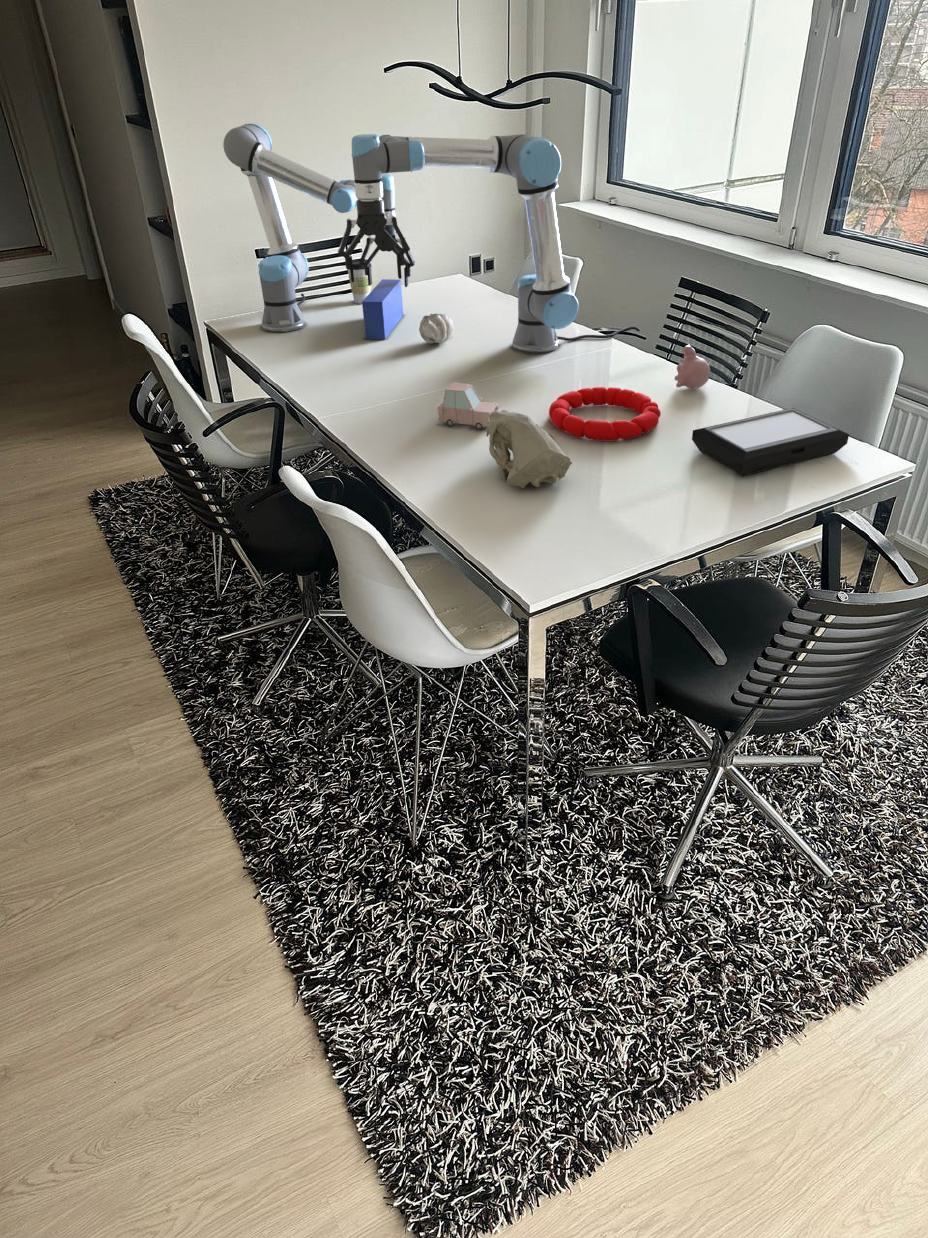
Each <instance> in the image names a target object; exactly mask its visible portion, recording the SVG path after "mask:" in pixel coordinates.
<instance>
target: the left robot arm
mask: <svg viewBox="0 0 928 1238" xmlns="http://www.w3.org/2000/svg"><path fill="white" fill-rule="evenodd" d="M222 143H223V144H222V147H223V151H224V154H225V156H226V158H227V159H228V161H230V163H232V165H234V166H236V167H238V168H240V171H241V173H242V174H244V175H245V176H246V177H247V179H248V182H249V185H250V188H251V192H252V195H253V198H254V202H255V204H256V207H257V211H258V213H259V218H260V221H261V223H262V226H263V230H264V233H265V236H266V239H267V242H268V245H269V249H268V251H267V256H268V257H265V258H263V259H261V260H260V261H259V262H258V275H259V281H260V287H261V292H262V293H261V294H262V299H263V313H262V319H261V326H262V330H264V331H265V332H271V333H286V332H293V331H296V330H297V331H298V330H300V329H302V328H304V326H305V319H304V317H303V314H302V312H301V310H300V307H299V306H300V305H302V304H303V303H304V302H305V300H306V297H305V294H304V293H301V294H300V297H302V300H300V301H299V302H297V295H296V294H297V293H296V288H297V287H298V286H300V285H302V284H303V283H304V282H305V280H306V278H307V277H308V274H309V270H310V268H309V261H308V259H307V258H306V256H305V255H304V254H303V253H302V252H301V250H300V246H299V244H298V243H296V242H295V241H294V240H293V237H292V234H291V230H290V227H289V224H288V221H287V218H286V214H285V211H284V208H283V205H282V201H281V197H280V195H279V191H278V188H277V185H276V184H277V183H276V182H275V181H278V182H280V183H282V184H284V185H286V186H288V187H291V188H292V189H295V190H297V191H299V192H302V193H303V194H306V195H308V196H310V197H313V198H315V199H316V200H319V201H322V202H324V203H326V204H328V205H330V206H331V207H332V208H333V209H334V210H335V211H336V212H338V213H340V214H346V213H350V212H351V211H353V210H354V209H355V208H357V204H356V201H357V200H358V199H357V198H356V193H355V179H343V180H340V181H339V182H338V181H336V180H335V179H332V178H330V177H328V176H326V175H325V174H322V173H320V172H318V171H315V170H313V169H310V168H309V167H306V166H304V165H302V164H300V163H297V162H295V161H293V160H291V159H289V158H287V157H285V156H282V155H281V154H278V153H276V152H274V151H272V150H273V141H272V137H271V135H270V133H269V132H268V131H267V130H266V129H265V128H264V127H263V126H261V125H260V124H257V123H245V124H242V125H239V126H236V127H233V128H231V129H229V130H228V132H227V133H226V134H225V136H224V138H223V142H222ZM382 186H383V197H382V198H381V199H383V200H384V212H385V217H386V218H389V217H391V216H395V217H397V216H396V195H395V192H396V191H395V190H396V189H395V180H394V176H393V175H392V174H391V173H383V174H382ZM384 229H385V230H386V231H387V232H388V233H389V235H390V236H391V237H392V238H393V239H394V240H395V241H396V242H397V243H398V244H399V246H401V248H402V247H404V246H403V244H402V242H401V240H400V238H398V235H397V233H396V231H395V229H394V227H393V226H391V225H390V224H389V223H388V222H387V224H386V225H385V227H384ZM405 240H406V238H405ZM406 241H407V240H406ZM373 243H374V244H375V245H376V247H375V249H374V250H373V251H372V253H371V254H370V255H369V257H368V258H367V255H368V253H369V251H370V248H371V245H372V244H373ZM380 251H381V252H390V253H391V252H393V253H394V254H395V255H396V253H399V252H398V251H397V249H396V248H395V247H394V246H393V245H392V244H391V243H390V242H389V241H388V240H387V238H386V237H385V236H384V235H383V234H382V233H381V234H379V235H374V237H371V236H367V237H366V243H365V247H364V248H363V251H362V254H361V257H360V258H359V259H360V261H359V264H360V265H364V267H365V275H366V276H368V286H371V287H372V285H373V277H372V276H373V275H372V267H371V265H372V264H371V265H369V263H371V262H372V261H373V259H374V258H375V257H376V255H377V254H378V253H379V252H380ZM404 255H405V256H406V257H405V256H404V266H405V267H404V268H403V275H404V288H408V286H409V278H410V277H411V276H412V274H411V271H412V270H411V267H414V266H415V265H416V260H415V259H414V257H413V255H412V253H411V251H407V252H405V253H404ZM366 258H367V261H364V260H365V259H366Z"/></svg>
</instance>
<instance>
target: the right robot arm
mask: <svg viewBox="0 0 928 1238" xmlns="http://www.w3.org/2000/svg"><path fill="white" fill-rule="evenodd" d="M351 158H352V159H351V160H352V168H353V169H352V170H353V177H354V178H353V180H355V193H356V198H357V199H358V200H357V201H356V204H357V206H356V213H357V214H356V215H357V217H356V219H351V218H350V217H349V218H346V228H345V231H344V233H343V236H342V239H341V241H340V244H339V247H338V249H337V254H338V256H339V257H343V258H344V261H345V269H346V270H347V271H348V270H350V275H351V282H354V273H353V263H352V260H353V257H352V253H353V252H354V250H355V249H356V247H357V246H358V245H359V243H360V241H362V239H363V237H364V236H366V237H369V236H370V237H371V236H375V235H379V234H381V233H382V234H383V235H384V236H385V237H386V238H387V240H388V241H389V242H390V243H391V244H392V245H393V246H394V247H395V248H396V249H397V251H398V252H399V253H396V254H395V255H396V266H397V267H396V268H397V278H398V280H402V278H403V276H402V267H403V266H405V265H404V257H405V252H407V251H410V250H411V248H410V246H409V244H408V242H407V240H405V239H406V237H404V234H403V233H402V231H401V228H400V227H399V225H398V222H397V221H398V220H397V218H396V217H397V216H396V217H395V216H391V217H389V218H386V217H385V212H384V200H383V199H381V198H382V197H383V186H382V174H391V173H393V174H394V173H407V172H410V173H412V172H415V171H421V170H422V169H423V168H448V169H449V168H455V169H456V168H459V169H486V170H487V171H488V173H493V174H494V173H497V174H503V175H506V176H510V177H512V178H515V180H516V187H517V193H518V195H519V196H520V197H523V199H524V205H525V211H526V212H525V213H526V219H527V223H528V232H529V239H530V246H531V251H532V252H531V253H532V259H533V265H534V266H533V267H534V272H535V273H534V274H526V275H522V276H521V277H519V279H518V283H517V285H518V286H517V300H518V301H517V326H516V329H515V332H514V335H513V338H512V348H513V349H514V350H515V351H517V352H520V353H525V354H546V353H550V352H553V351H555V350H557V349H558V347H559V340H561V341H566V342H574V341H578V340H581V339H611V338H614V337H615V336H616V335H619V334H622V333H625V332H627V331H631V330H635V331H636V332H641V329H640V328H639V327H637V326H628V327H625V328H622V329H619V330H617V331H616V330H615V332H613V333H610V334H602V335H601V334H583V335H578V336H575V337H574V336H573V337H565V336H559V335H557V331H556V330H562V329H565V328H567V327H569V326H570V325H571V324H572V323H573V322H574V320H575V319H576V317H577V315H578V314H579V307H580V306H579V301H578V299H577V297H576V295H574V293H572V288H571V287H572V286H571V281H570V277H568V276H567V275H565V272H564V271H565V270H564V264H563V257H562V248H561V240H560V233H559V225H558V217H557V210H556V209H557V208H556V200H555V191H556V190H557V188H558V187H559V181H558V176H559V174H560V173H561V170H562V157H561V153H560V151H559V149H558V148H557V146H556V145H555V144H554V143H553V142H551V141H549V139H546V138H544V137H539V136H533V135H529V134H524V133H522V134H521V133H520V134H509V135H490V136H489V137H488V138H487V139H481V138H458V137H457V138H456V137H455V138H454V137H430V136H429V137H427V136H400V135H399V136H398V135H397V136H396V135H394V136H393V135H390V134H381V135H378V134H372V133H367V134H366V133H365V134H364V133H363V134H357V135H354V136H353V137H352V138H351ZM387 222H388V223H389V224H390V225H391V226H393V227H394V229H395V231H396V236H397V237H398V239H400V240H401V242H402V244H403V246H404V247H402V246H401V245H400V244H399V242H398V243H397V242H396V241H395V240H394V239H393V238H392V237H391V236H390V235H389V233H388V232H387V231H386V230H385V229H384V227H385V225H386V224H387ZM355 226H357V227H358V228H359V230H358V232H357V234H356V235H355V237H354V238H353V240H352V241H351V242H350V244H349V245H348V246H347V244H348V241H349V238H350V235H351V232H352V229H354V228H355ZM346 246H347V249H346ZM345 249H346V250H345ZM410 252H411V251H410Z"/></svg>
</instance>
